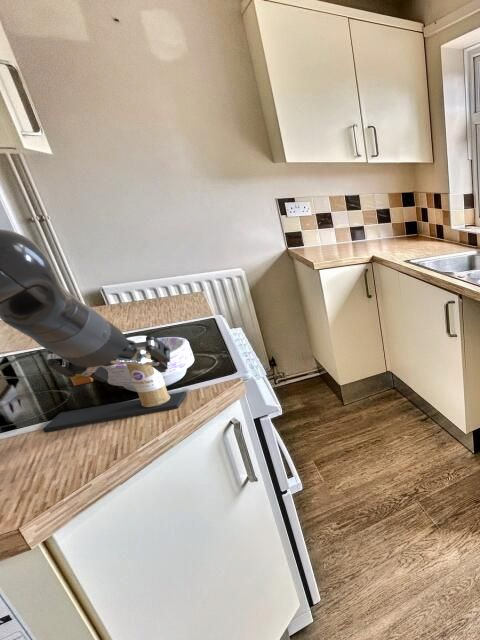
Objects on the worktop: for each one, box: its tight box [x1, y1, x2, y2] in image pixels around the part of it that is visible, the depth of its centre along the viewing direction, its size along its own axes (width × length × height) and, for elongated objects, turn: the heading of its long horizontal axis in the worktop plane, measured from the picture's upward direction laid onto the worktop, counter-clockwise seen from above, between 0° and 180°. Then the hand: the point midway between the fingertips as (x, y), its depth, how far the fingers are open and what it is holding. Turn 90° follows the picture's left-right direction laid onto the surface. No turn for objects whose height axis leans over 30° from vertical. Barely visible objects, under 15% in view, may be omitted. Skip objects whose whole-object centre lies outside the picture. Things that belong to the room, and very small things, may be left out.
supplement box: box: [69, 374, 94, 387], centre depth 92 cm, size 3×3×10 cm
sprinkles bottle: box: [126, 335, 170, 407], centre depth 81 cm, size 5×5×13 cm
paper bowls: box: [101, 336, 195, 393], centre depth 92 cm, size 15×15×8 cm
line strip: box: [42, 391, 187, 433], centre depth 81 cm, size 20×6×1 cm, turn 113°
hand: (135, 372), depth 77 cm, fingers open, 8 cm apart
